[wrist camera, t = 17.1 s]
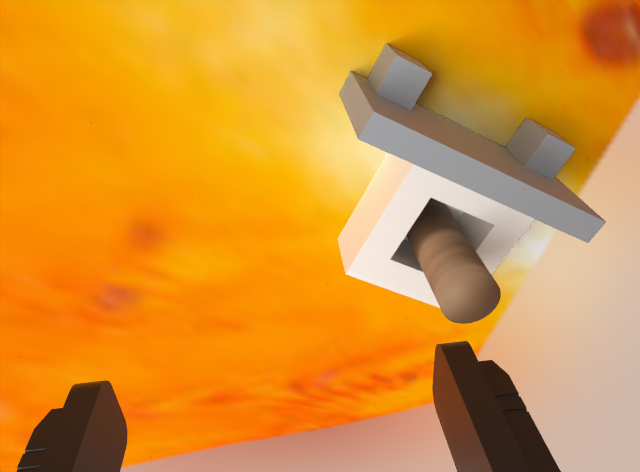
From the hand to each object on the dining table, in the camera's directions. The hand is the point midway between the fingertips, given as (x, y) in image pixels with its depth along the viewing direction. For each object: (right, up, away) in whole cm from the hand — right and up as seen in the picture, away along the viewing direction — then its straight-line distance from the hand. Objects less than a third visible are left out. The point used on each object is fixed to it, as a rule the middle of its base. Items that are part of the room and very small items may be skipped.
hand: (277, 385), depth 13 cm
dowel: (+11, +6, +35) cm, 37 cm away
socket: (+11, +6, +36) cm, 38 cm away
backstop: (+13, +14, +31) cm, 36 cm away
